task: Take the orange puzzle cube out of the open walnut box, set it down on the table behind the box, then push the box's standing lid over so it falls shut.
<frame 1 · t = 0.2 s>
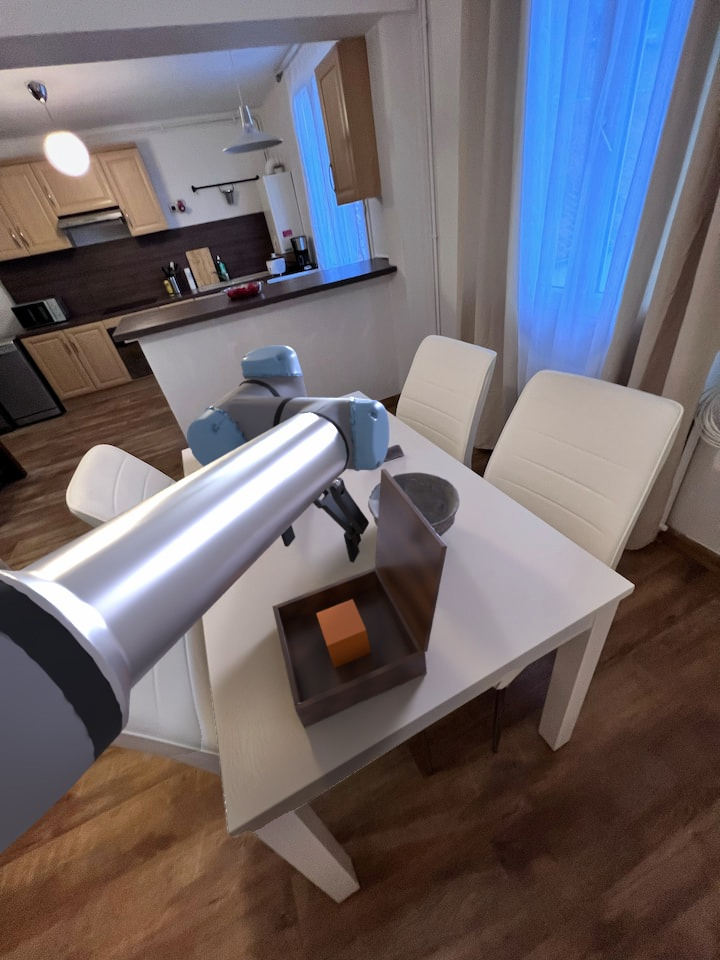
hand: (321, 549, 74), 16 cm above the table, tool pointing down, fingers open, 13 cm apart
artifact: (382, 459, 124), on the table
box: (347, 646, 74), on the table
cube: (346, 644, 74), point 1 cm above the table, touching box
food container: (293, 494, 116), on the table
bowl: (415, 530, 97), on the table
lid: (412, 555, 67), point 17 cm above the table, hinge at 100.0°
pencil case: (253, 455, 137), on the table
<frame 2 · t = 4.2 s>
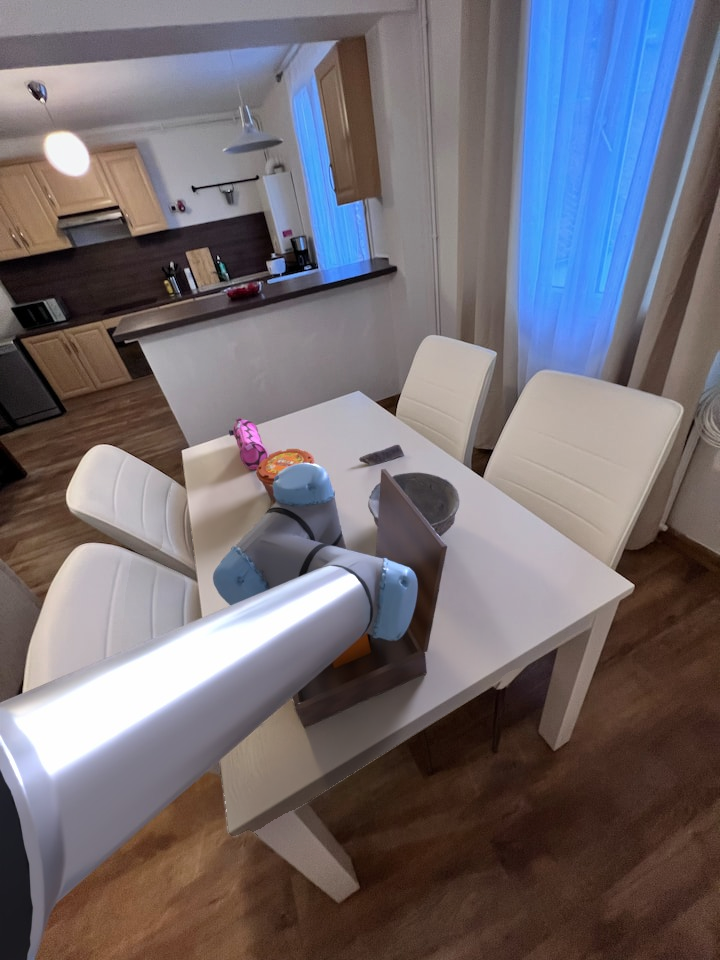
hand: (346, 643, 74), 1 cm above the table, tool pointing down, fingers closed on box, 7 cm apart
nothing on the table moved.
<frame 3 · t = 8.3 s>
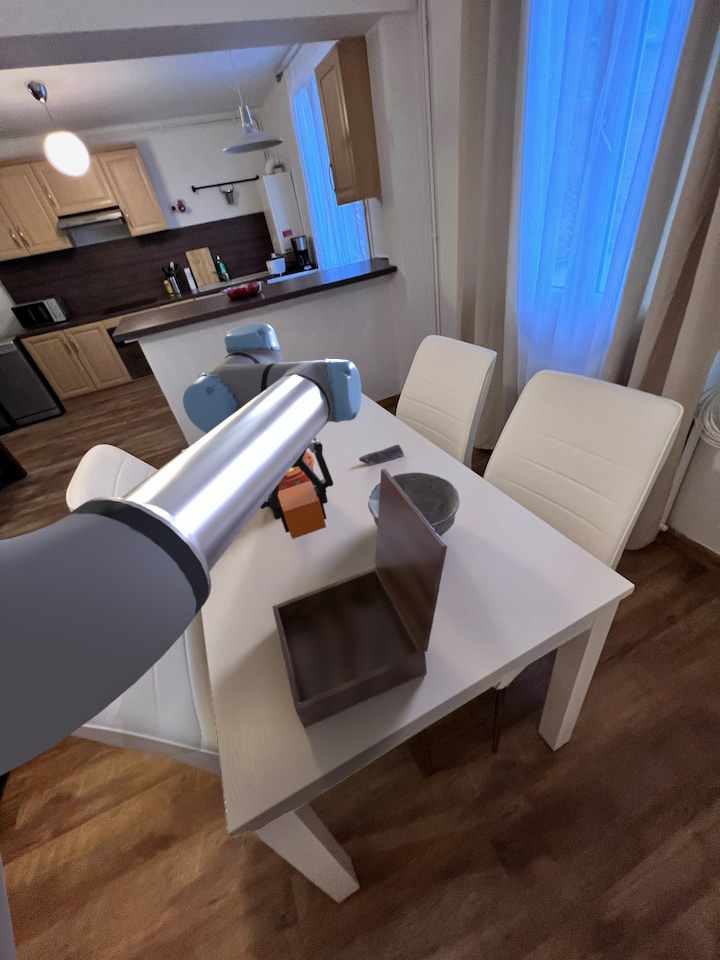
hand: (304, 521, 81), 15 cm above the table, tool pointing down, fingers closed on cube, 7 cm apart
cube: (305, 522, 81), point 15 cm above the table, touching gripper
everything else where it was.
when the fingers open (0 cm above the table, at t = 12.0 s): cube stays where it is, on the table.
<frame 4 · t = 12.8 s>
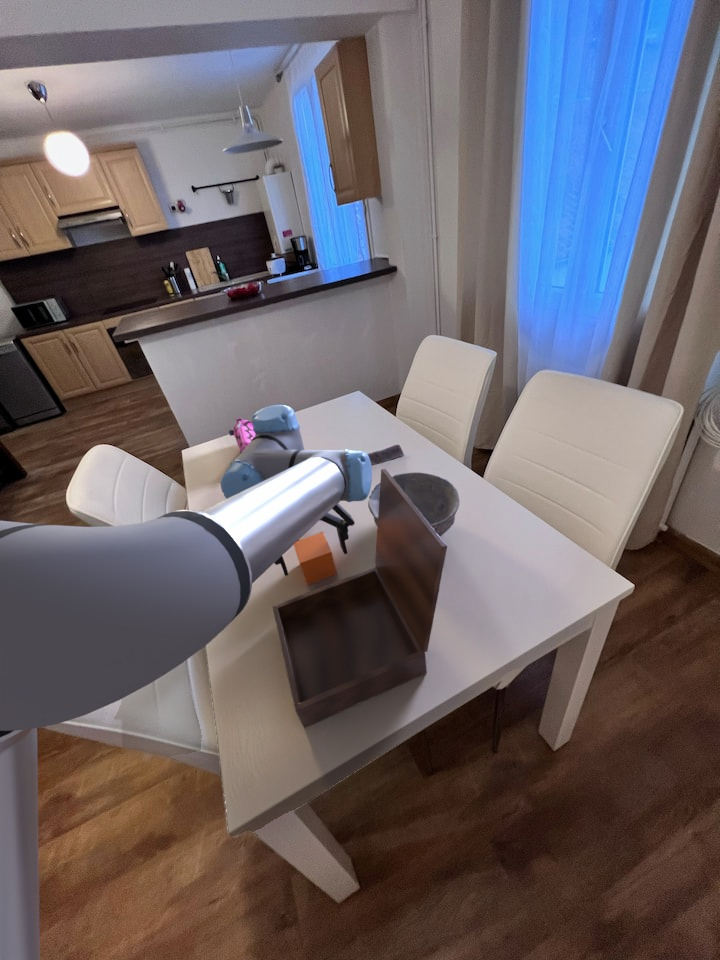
hand: (315, 560, 89), 3 cm above the table, tool pointing down, fingers open, 13 cm apart
cube: (318, 568, 91), on the table
everything else where it was.
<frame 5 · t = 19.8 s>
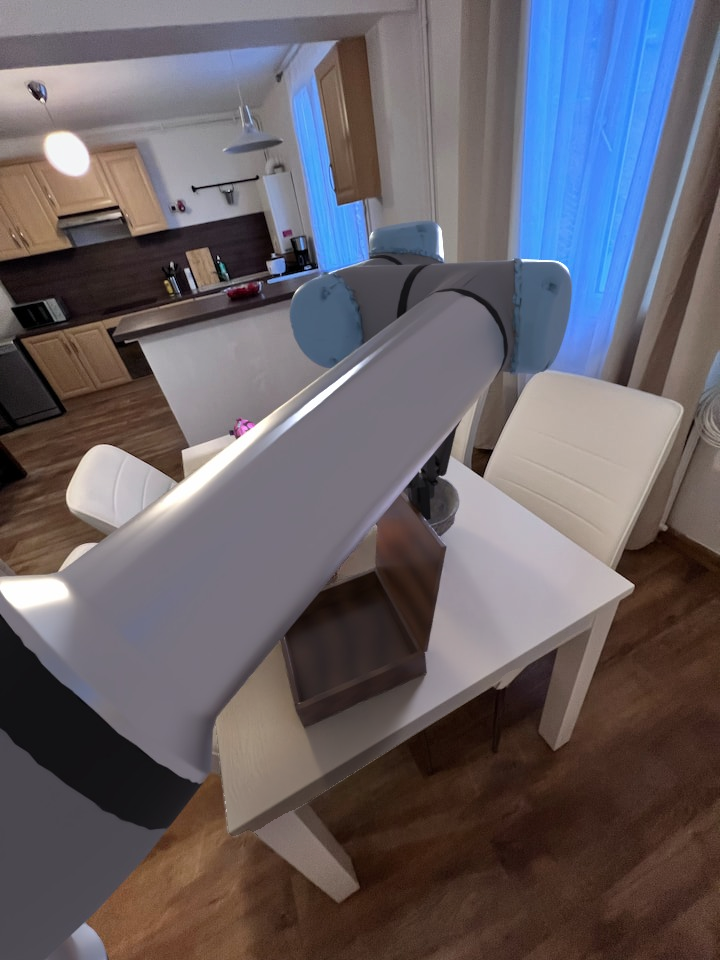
hand: (422, 515, 63), 25 cm above the table, tool pointing down, fingers closed
lid: (412, 555, 67), point 17 cm above the table, hinge at 99.8°, touching gripper
everything else where it was.
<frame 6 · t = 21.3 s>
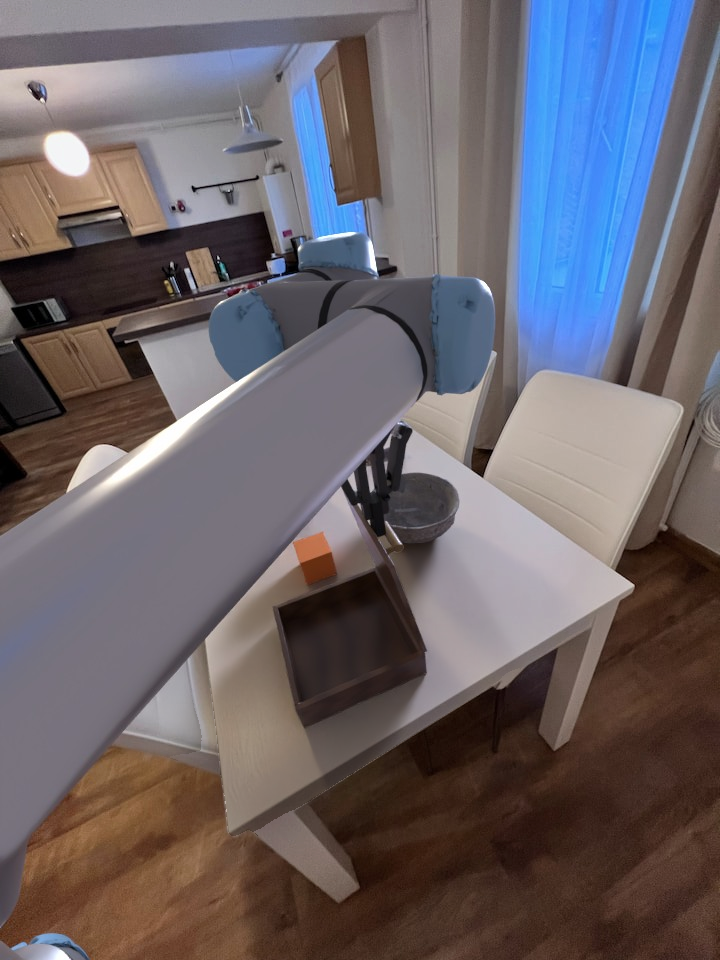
hand: (378, 530, 61), 25 cm above the table, tool pointing down, fingers closed
lid: (391, 560, 66), point 18 cm above the table, hinge at 80.6°, touching gripper
everything else where it was.
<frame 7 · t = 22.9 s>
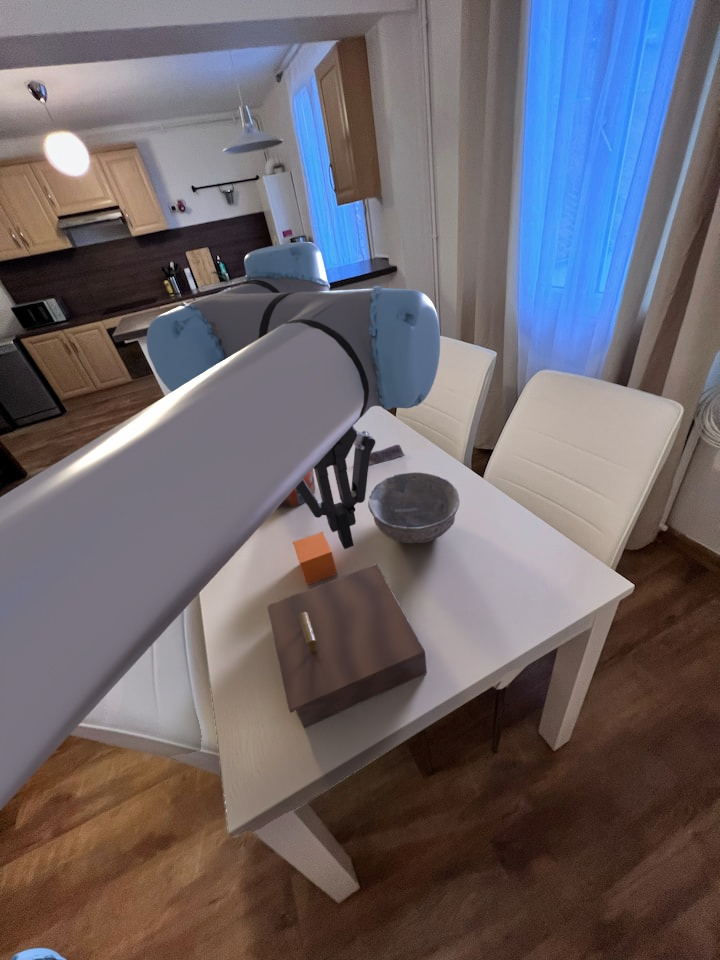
hand: (346, 541, 60), 25 cm above the table, tool pointing down, fingers closed
lid: (338, 621, 70), point 8 cm above the table, hinge at -0.1°
everything else where it was.
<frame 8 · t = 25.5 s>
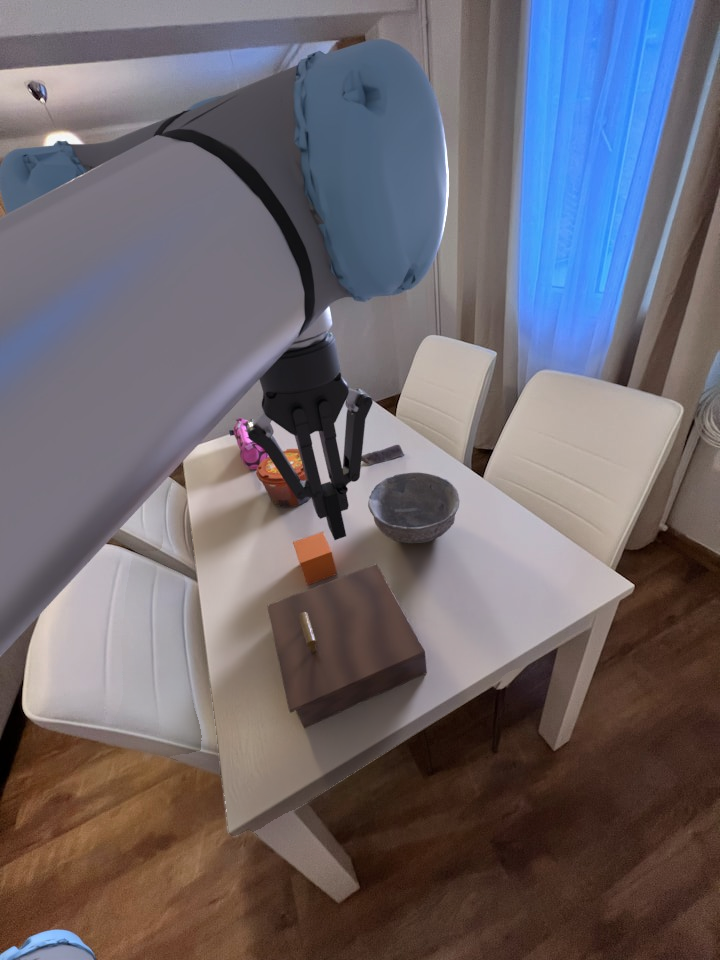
hand: (337, 531, 49), 34 cm above the table, tool pointing down, fingers closed
nothing on the table moved.
at the end: cube inside the target area (0.0 cm from its centre), on the table; cube tilted 0°; lid at +0° (first picture: +100°) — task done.
